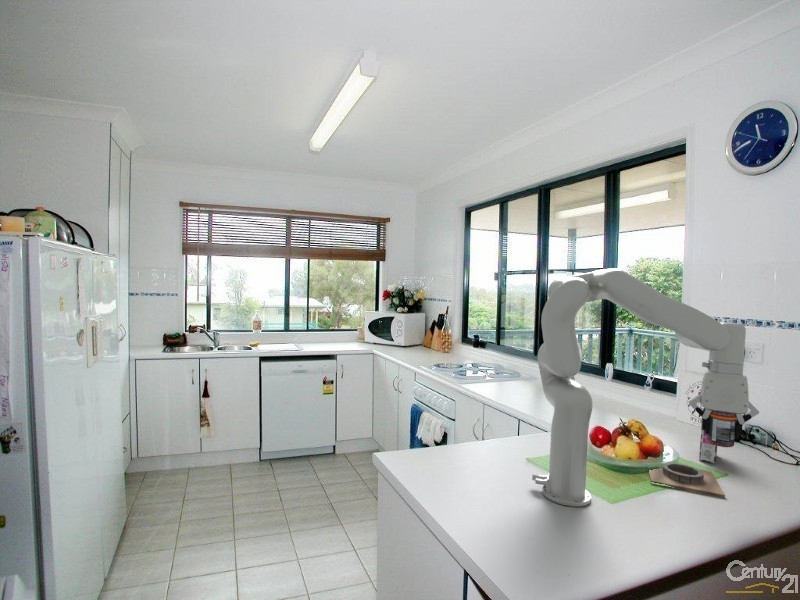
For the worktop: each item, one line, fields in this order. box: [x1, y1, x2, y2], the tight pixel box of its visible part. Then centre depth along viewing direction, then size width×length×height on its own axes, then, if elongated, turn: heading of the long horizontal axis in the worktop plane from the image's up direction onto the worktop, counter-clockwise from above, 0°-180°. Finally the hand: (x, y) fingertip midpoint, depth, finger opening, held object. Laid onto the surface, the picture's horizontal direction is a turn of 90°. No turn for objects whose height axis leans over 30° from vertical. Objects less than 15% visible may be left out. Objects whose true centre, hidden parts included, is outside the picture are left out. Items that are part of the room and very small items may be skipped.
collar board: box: [648, 462, 726, 499], centre depth 136 cm, size 18×18×3 cm
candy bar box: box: [698, 407, 718, 464], centre depth 155 cm, size 11×5×16 cm, turn 145°
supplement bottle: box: [707, 411, 736, 448], centre depth 119 cm, size 6×6×11 cm
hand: (720, 434), depth 119 cm, fingers closed on supplement bottle, 6 cm apart
